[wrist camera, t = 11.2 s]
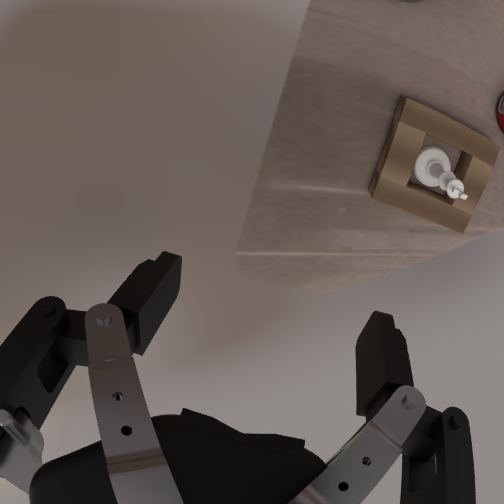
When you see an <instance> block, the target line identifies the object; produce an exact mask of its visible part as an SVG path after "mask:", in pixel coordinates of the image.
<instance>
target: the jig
mask: <svg viewBox="0 0 504 504" xmlns="http://www.w3.org/2000/svg"><path fill="white" fill-rule="evenodd" d="M426 133H427V134H430V135H432V136H434V137H436V138H438V139H440V140H442V141H445V142H447V143H449V144H451V145H453V146H455V147H457V148H459V149H461V150H462V154H461V156H460V159H459V162H458V164H457V167H456V169H455V172H454V175H455V177H456V179H459V180H460V181H461V182H462V183H463V185H464V191H463V193H465V194H466V195H467V196H468V197H467V198H466V200H465V199H464V200H463V199H462V198H460V197H459V198H451V197H450V196H449V195H448V194H447V192H446V193H445V195H444V196H442V195H440V194H438V193H436V192H433V191H431V190H429V189H426V188H424V187H421V186H419V185H417V184H414V183H412V182H409V181H408V180H409V178H410V175H411V173H412V170H413V168H414V165H415V162H416V160H417V157H418V154H419V152H420V149H421V146H422V143H423V141H424V138H425V135H426ZM500 148H501V146H499V145H497V144H496V143H494V142H493V141H491V140H489V139H488V138H486V137H484V136H482V135H481V134H479V133H477V132H475V131H474V130H472V129H470V128H468V127H466V126H465V125H463V124H461V123H459V122H457V121H455V120H453V119H451V118H449V117H447V116H445V115H443V114H441V113H439V112H437V111H435V110H433V109H431V108H429V107H427V106H424V105H422V104H420V103H418V102H415V101H413V100H411V99H409V98H406V97H402V96H400V98H399V101H398V105H397V108H396V111H395V114H394V117H393V120H392V124H391V127H390V130H389V133H388V136H387V139H386V141H385V144H384V147H383V150H382V153H381V156H380V159H379V162H378V164H377V167H376V170H375V173H374V175H373V178H372V181H371V183H370V186H369V189H368V190H369V193H370V195H371V198H372V199H374V200H377V201H380V202H383V203H386V204H388V205H391V206H394V207H396V208H399V209H402V210H404V211H407V212H410V213H412V214H415V215H417V216H420V217H423V218H425V219H428V220H430V221H433V222H435V223H438V224H440V225H442V226H445V227H447V228H450V229H452V230H454V231H457V232H459V233H461V234H463V232H464V230H465V228H466V226H467V224H468V222H469V220H470V218H471V216H472V214H473V212H474V210H475V208H476V206H477V204H478V201H479V199H480V197H481V195H482V192H483V190H484V188H485V186H486V183H487V181H488V178H489V176H490V174H491V171H492V169H493V166H494V164H495V161H496V158H497V156H498V153H499V150H500Z"/></svg>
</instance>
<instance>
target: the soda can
mask: <svg viewBox="0 0 504 504" xmlns="http://www.w3.org/2000/svg"><path fill="white" fill-rule="evenodd" d="M498 120H499V124H500V127H501V129H502V131H503V132H504V95H503V96H502V97H501V99H500V102H499V105H498Z"/></svg>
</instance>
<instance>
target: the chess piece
mask: <svg viewBox="0 0 504 504" xmlns="http://www.w3.org/2000/svg"><path fill="white" fill-rule="evenodd" d="M450 168H451V166H450V161H449V158H448V156H447V155H446V154H445V152H444V151H443V150H441V149H440V148H438V147H434V146H429V147H425V148H423V149H421V150H420V152H419V154H418V157H417V160H416V162H415V165H414V168H413V171H414V174H415V176H416V178H417V179H418V180H419V181H420V182H421V183H422V184H424V185H426V186H430V187H435V186H440V188H441V189H443V190H445V191H446V192H447V194H448V195H449V196H450V197H451V198H459V197H460V198H462V199H463V200H464V199H465V200H466V198H467V197H468V196H467V195H466V194H465V193H463V191H464V185H463V183H462V182H461V181H460V180H459V179H456V177H455V175H454V174H453V173H452V172H450Z"/></svg>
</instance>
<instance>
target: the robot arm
mask: <svg viewBox="0 0 504 504" xmlns="http://www.w3.org/2000/svg"><path fill="white" fill-rule="evenodd" d="M401 1H406V2H419V1H423V0H401ZM181 264H182V257H181V256H179V255H176V254H173V253H169V252H166V251H163V252H162V253H161V254H160V256H159V257H158V258H157V259H156V260H155V261H153V260H150V259H148V260H146V261H145V262H143V263H141V264H139V265H138V266H137V267H136V268H135V269H134V271H133V272H132V274H130V275H129V276H128V278H127V280H125V281H124V282H123V284H122V285H121V286H120V287H119V289H118V290H117V291H116V292H115V293H114V295H113V296H112V297H111V298H110V300H109V301H108V302H107V303H101V304H97V305H95V306H92V307H91V308H90V309H89V310H88V311H77V310H68V309H66V306H65V303H64V301H63V300H62V299H60V298H58V297H54V296H49V297H44V298H41V299H40V300H38V301H37V302H36V303H35V304H34V305H33V306H32V307H31V309H30V310H29V311H28V312H27V314H25V316H24V317H23V318H22V319H21V321H20V322H19V323H18V324H17V325H16V327H15V328H14V329H13V331H12V332H11V333H10V334H9V336H8V337H7V338H6V339H5V341H4V342H3V343H2V345H1V346H0V477H2V478H5V479H6V480H8V481H9V482H11V483H12V484H14V485H15V486H17V487H18V488H20V489H21V490H23V491H24V492H26V493H27V494H29V499H30V504H360V503H361V502H362V501H363V500H364V499H365V498H366V496H368V494H369V493H370V492H371V491H372V490H373V488H374V487H375V486H376V485H377V484H378V482H379V481H380V480H381V479H382V477H383V476H384V475H385V474H386V472H387V471H388V470H389V468H390V467H391V466H392V465H393V463H394V462H395V461H396V459H397V458H398V457H399V455H400V454H402V482H401V498H400V504H476V495H475V474H474V462H473V451H472V442H471V434H470V427H469V421H468V418H467V416H466V415H465V413H464V412H463V411H462V410H461V409H459V408H457V407H449V408H447V409H446V410H445V411H443V412H440V411H437V410H435V409H433V408H431V407H429V406H427V405H426V401H425V398H424V396H423V395H422V393H421V392H420V391H419V390H418V389H416V388H414V383H413V377H412V371H411V365H410V360H409V354H408V351H407V344H406V339H405V337H404V336H403V334H402V332H401V331H400V330H399V329H396V328H395V325H394V320H393V316H392V315H390V314H386V313H383V312H378V311H374V312H373V313H372V315H371V316H370V318H369V320H368V322H367V323H366V325H365V327H364V329H363V330H362V332H361V334H360V336H359V337H358V340H357V344H356V385H357V386H356V389H357V390H356V392H357V393H356V394H357V409H356V413H357V415H359V416H366V423H365V424H363V425H362V426H361V428H360V429H359V430H358V431H357V432H356V433H355V434H354V435H353V436H352V437H351V438H350V439H349V440H348V441H347V442H346V443H345V444H344V445H343V446H342V447H341V448H340V449H339V451H337V452H336V453H335V454H334V455H333V456H332V457H331V458H330V459H329V460H328V461H327V462H324V461H323V460H322V459H320V458H319V457H318V456H317V455H315V454H314V453H313V452H311V451H309V450H307V449H305V448H304V445H305V440H303V439H298V438H293V437H288V436H283V435H278V434H246V433H241V432H239V431H237V430H235V429H233V428H231V427H230V426H228V425H226V424H224V423H222V422H220V421H218V420H217V419H215V418H213V417H210V416H207V415H204V414H201V413H198V412H194V411H191V410H189V409H185V408H183V410H182V412H181V415H175V414H174V415H173V414H172V415H168V414H167V415H159V416H154V417H150V414H149V411H148V408H147V405H146V401H145V398H144V395H143V391H142V388H141V384H140V380H139V377H138V373H137V369H136V365H135V362H134V358H132V355H133V353H136V354H139V355H141V356H143V354H144V352H145V350H146V348H147V347H148V345H149V344H150V342H151V340H152V338H153V337H154V335H155V333H156V332H157V330H158V328H159V327H160V325H161V323H162V321H163V320H164V318H165V317H166V315H167V313H168V312H169V310H170V308H171V307H172V305H173V303H174V301H175V300H176V298H177V295H178V293H179V289H180V279H181V266H182V265H181ZM76 365H80V366H87V367H88V372H89V379H90V386H91V392H92V397H93V403H94V408H95V413H96V418H97V423H98V427H99V432H100V436H101V440H100V441H98V442H96V443H93V444H91V445H88V446H86V447H84V448H81V449H79V450H76V451H74V452H72V453H69V454H67V455H64V456H62V457H59V458H56V459H54V460H51V461H49V462H47V463H45V464H44V465H43V464H42V460H41V459H42V458H41V456H42V451H43V448H44V440H43V436H42V434H41V432H40V431H39V430H40V428H41V426H42V424H43V423H44V421H45V419H46V417H47V415H48V413H49V412H50V410H51V408H52V406H53V404H54V402H55V401H56V399H57V397H58V395H59V394H60V392H61V390H62V389H63V387H64V385H65V383H66V382H67V380H68V378H69V377H70V375H71V373H72V371H73V370H74V368H75V366H76ZM435 457H436V460H435ZM435 462H436V463H435Z"/></svg>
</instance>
